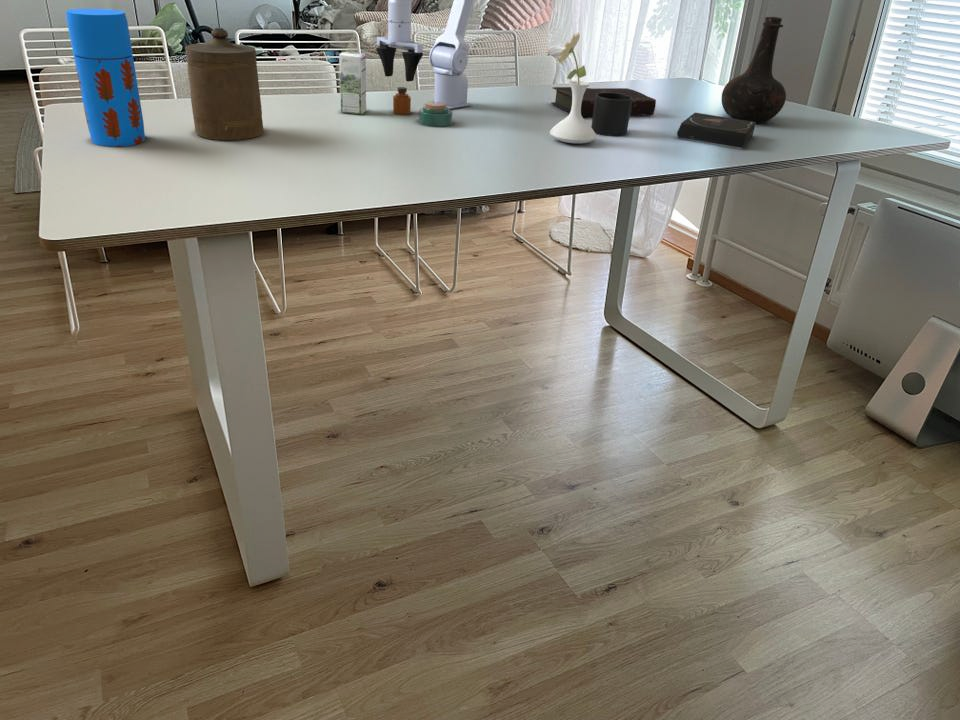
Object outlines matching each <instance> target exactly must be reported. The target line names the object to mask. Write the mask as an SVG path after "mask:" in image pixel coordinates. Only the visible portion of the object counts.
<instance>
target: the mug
mask: <svg viewBox="0 0 960 720" xmlns="http://www.w3.org/2000/svg"><path fill="white" fill-rule="evenodd" d="M631 105H632V97H630V96H628V95H624V94H618V93H598V94H596V97H595V104H594V111H593V116H592V119H591V125H590V127H591V128H592V129H593V130H594V132H595V134H598V135H601V136H609V137H620V136H625V135H627V133H628V129H629V124H630V123H629V122H630V117H631V116H632V115H631V112H632V108H631Z"/></svg>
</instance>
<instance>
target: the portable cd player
mask: <svg viewBox="0 0 960 720" xmlns="http://www.w3.org/2000/svg"><path fill="white" fill-rule="evenodd" d="M756 124H757V123H756V122H752V121H746V120H739V119H733V118H731V117H727V116H720V115H714V114H706V113H699V112H693V113H692V114H691V115H690V116H689V117H687V118H686V119H685V120H684V121H682V122H681V123H680V126H679V128H678V130H677V132H676V135H677V139H678V140H684V141H690V142H695V143H701V144H708V145H713V146H720V147H723V148H724V147H726V148H731V149H737V150H741V151H743V150H744V149H745V147H746V146H747V145H748V143H749V142H750V141H751V139H752V138H753V135H754V133H755V127H756Z"/></svg>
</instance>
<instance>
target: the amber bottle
mask: <svg viewBox="0 0 960 720" xmlns="http://www.w3.org/2000/svg"><path fill="white" fill-rule="evenodd" d="M407 90H408V89H407V87H405V86H398V87H397V92H396V93H395V94H394V95H393V96H392V99H393V100H392V101H393V102H392V108H393V109H392V113H393V114H394V115H399V116H400V115H401V116H407V115H410V114H412V113H411V111H412V110H411V109H412V106H411V105H412V103H411V102H412V97H411V96H410V95H409V93H407V92H408V91H407Z"/></svg>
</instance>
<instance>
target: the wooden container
mask: <svg viewBox="0 0 960 720" xmlns="http://www.w3.org/2000/svg"><path fill="white" fill-rule="evenodd" d="M211 37H212V39H211V40H210V42H203V43H192V44H188V45H186V46H185V58H186V62H187V64H186V65H187V77H188V84H189V94H190V103H191V104H190V105H191V110H192V116H193V117H192V118H193V124H194V132H195V134H196V135H197V136H198V137H201V138H204V139H209V140H216V141H242V140H249V139H254V138H258V137H260V136H261V135H263V134H264V123H263V110H262V100H261V99H262V98H261V91H260V82H259V74H258V65H257V60H258V59H257V51H256V48H255V47H253V46H250V45H245V44H239V43H231V42H230V41H229V40H228V37H229V34H228V31H227V30H226V29H224V28H223V27H215V28H213V29H212V30H211Z"/></svg>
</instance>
